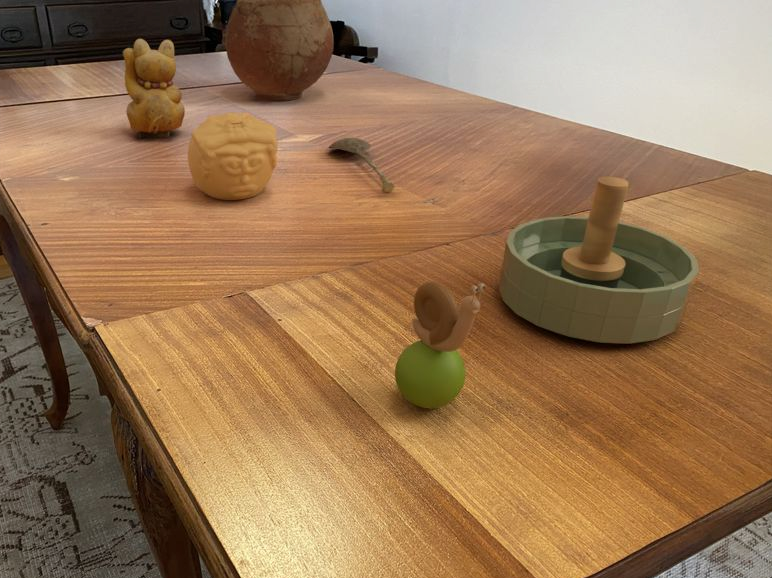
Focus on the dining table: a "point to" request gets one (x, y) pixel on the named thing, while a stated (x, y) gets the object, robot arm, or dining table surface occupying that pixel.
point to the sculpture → (232, 155)
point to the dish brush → (599, 239)
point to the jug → (279, 45)
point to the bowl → (595, 303)
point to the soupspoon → (358, 148)
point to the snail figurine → (436, 346)
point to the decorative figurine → (152, 90)
